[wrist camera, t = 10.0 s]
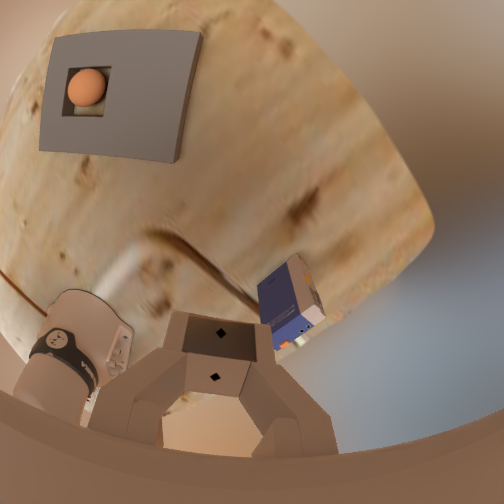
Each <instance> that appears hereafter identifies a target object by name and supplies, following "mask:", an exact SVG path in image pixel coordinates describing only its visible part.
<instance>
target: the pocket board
mask: <svg viewBox="0 0 504 504" xmlns="http://www.w3.org/2000/svg"><path fill="white" fill-rule="evenodd" d="M202 41H203V37H202V35H201V33H200V32H192V31H178V30H114V31H101V32H91V33H82V34H75V35H68V36H62V37H56V38H55V39H54V43H53V47H52V51H51V56H50V60H49V65H48V71H47V76H46V82H45V89H44V96H43V103H42V113H41V124H40V139H39V151H48V152H66V153H81V154H93V155H104V156H114V157H124V158H133V159H141V160H149V161H157V162H164V163H171V164H173V163H175V162H176V161H177V160H178V158H179V152H180V145H181V139H182V134H183V128H184V122H185V117H186V112H187V107H188V102H189V97H190V92H191V87H192V83H193V78H194V74H195V70H196V65H197V61H198V57H199V53H200V49H201V45H202ZM102 68H111V72H110V77H109V83H108V88H107V94H106V100H105V107H104V114H103V115H73V111H74V103H73V102H72V101H71V100H70V98H69V96H68V86H69V83H70V81H71V79H72V78H73V77H74V75H76V74H77V73H78V72H80V69H102Z"/></svg>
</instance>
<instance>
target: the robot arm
mask: <svg viewBox="0 0 504 504" xmlns="http://www.w3.org/2000/svg"><path fill="white" fill-rule="evenodd" d="M47 314H48V316H47V317H46V319H45V321H44V323H43V325H42V327H41V329H40V331H39V333H38V336H37V339H38V340H37V342H36V344H34V346H33V348H32V351H31V353H30V355H29V361H28V363H27V365H26V367H25V368H24V370H23V372H22V374H21V376H20V378H19V380H18V381H17V383H16V385H15V387H14V391H13V396H11V395H10V394H8V393H6V392H4V391H2V390H0V504H504V408H503V409H501V410H499V411H497V412H495V413H493V414H490V415H488V416H486V417H483V418H481V419H479V420H476V421H473V422H471V423H468V424H466V425H463V426H460V427H457V428H454V429H451V430H448V431H445V432H442V433H439V434H436V435H432V436H429V437H425V438H422V439H418V440H414V441H410V442H406V443H402V444H398V445H393V446H388V447H383V448H377V449H372V450H366V451H359V452H353V453H345V454H339V452H338V449H337V443H336V439H335V435H334V430H333V426H332V422H331V418H330V416H329V415H328V414H327V413H326V412H325V411H324V410H323V409H322V408H321V407H320V406H319V405H318V404H317V403H316V402H315V401H314V400H313V398H311V396H310V395H309V394H308V393H307V392H306V391H305V390H304V389H303V388H302V387H301V386H300V385H299V384H298V383H297V382H296V381H295V380H294V379H293V377H292V376H291V375H290V374H289V373H288V372H287V371H286V370H285V369H284V368H283V367H282V366H281V365H277V364H276V361H275V354H274V347H273V339H272V332H271V327H270V325H267V324H258V323H247V322H240V321H233V320H226V319H219V318H214V317H208V316H203V315H198V314H193V313H186V312H181V311H176V310H173V312H172V314H171V318H170V322H169V325H168V329H167V333H166V336H165V340H164V344H163V348H158V347H157V348H156V349H155V350H153V351H152V352H151V353H149V354H148V355H146V356H145V357H144V358H142V359H141V360H139V361H138V362H137V363H135V364H134V365H133V366H131V367H130V368H128V369H127V366H128V361H129V355H130V349H131V344H132V339H133V334H134V332H133V330H132V328H131V327H129V326H128V325H127V324H125V323H124V322H122V321H121V320H120V319H119V318H118V317H117V315H116V314H115V313H114V312H113V310H112V309H111V308H110V307H109V306H108V305H107V304H106V303H104V302H103V301H102V300H100V299H99V298H97V297H96V296H94V295H92V294H90V293H87V292H84V291H80V290H68V291H65V292H63V293H62V294H61V295H60V296H59V297H58V299H57V301H56V302H55V303H53V304H51V305H49V307H48V308H47ZM113 376H117V377H116V378H114V379H113ZM112 379H113V380H112ZM96 387H101V388H100V391H99V394H98V397H97V400H96V402H95V405H94V408H93V411H92V414H91V417H90V421H89V423H88V427H87V428H86V427H83V426H80V421H81V417H82V413H83V409H84V406H85V403H86V401H89V400H87V398H91V396H90V395H91V394H92V392H94V391H95V389H96ZM184 390H186V391H193V392H201V393H210V394H217V395H224V396H231V397H239V400H240V401H241V403H242V405H243V406H244V408H245V409H246V411H247V413H248V414H249V416H250V417H251V418H252V420H253V422H254V423H255V425H256V426H257V428H258V429H259V431H260V432H261V434H262V435H263V438H262V439H261V441H260V442H259V444H258V446H257V447H256V448H255V450H254V451H253V453H252V457H233V456H220V455H209V454H201V453H193V452H186V451H180V450H173V449H168V448H163V432H162V415H163V413H164V412H165V411H166V410H167V409H168V408H169V407H170V406H171V405H172V404H173V403H174V402H175V401H176V400H177V399H178V398H179V397H180V396H181V395H182V393H183V392H184Z"/></svg>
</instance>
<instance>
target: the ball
mask: <svg viewBox="0 0 504 504" xmlns="http://www.w3.org/2000/svg"><path fill="white" fill-rule="evenodd" d="M105 87H106V82H105V78H104V76H103V75H102V73H101V72H99V71H98V70H95V69H84V70H82V71H80V72H78V73H77V74H76V75H74V77H73V78H72V79H71V81H70V83H69V86H68V96H69V98H70V100H71V101H72V102H73V103H74V104H75V105H77V106H81V107H85V106H90V105H92V104H94V103H96V102H97V101H98V100H99V99H100V98H101V97H102V95H103V93H104V91H105Z"/></svg>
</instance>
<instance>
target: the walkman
mask: <svg viewBox="0 0 504 504" xmlns="http://www.w3.org/2000/svg"><path fill="white" fill-rule="evenodd" d="M257 287H258V298H259V309H260V320H261V324H267V325H270V327H271V332H272V339H273V347H274V349H275V350H276V351H278V350H279V349H281V348H282V349H283V348H284V347H286V346H287V345H289V344H290V342H291V341H293V340H294V339H296V338H297V337H299V336H300V335H302V334H303V333H305V332H306V331H308V330H309V329H310V328H312V327H313V326H315V325H316V324H317V323H319V322H320V321H322V320H323V319H324V318H326V315H325V312H324V309H323V307H322V303H321V300H320V298H319V295H318V293H317V290H316V288H315V285H314V282H313V280H312V277H311V275H310V272H309V269H308V267H307V265H306V264H305V263H304V262H303V259H302V258H301V257H300V256H299V255H298V254H297V253H296V254H295V255H294V256H293V257H291V258H290V259H289V260H288V261H287V262H285V263H284V264H283V265H282V266H281V267H279V268H278V269H277V270H276V271H275V272H273V273H272V274H271V275H270V276H268V277H267V278H266V279H265V280H264V281H262V282H261V283H260V284H259V285H257Z"/></svg>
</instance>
